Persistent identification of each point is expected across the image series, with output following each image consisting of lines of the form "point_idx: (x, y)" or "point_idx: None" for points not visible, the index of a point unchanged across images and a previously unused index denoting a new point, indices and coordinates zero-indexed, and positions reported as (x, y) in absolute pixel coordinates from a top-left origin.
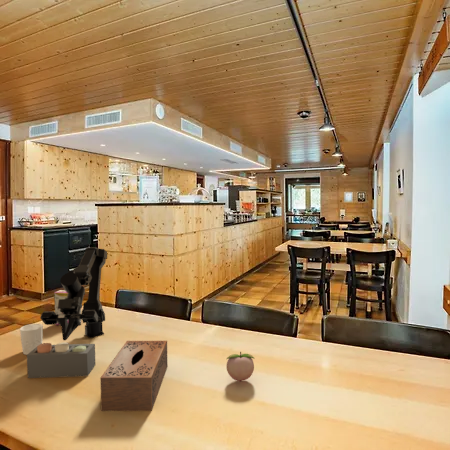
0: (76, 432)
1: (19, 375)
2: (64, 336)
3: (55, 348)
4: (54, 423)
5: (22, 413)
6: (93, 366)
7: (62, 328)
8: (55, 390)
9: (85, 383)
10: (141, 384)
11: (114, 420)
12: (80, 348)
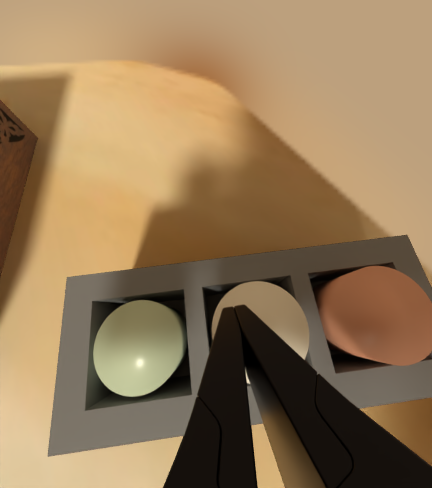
0: (74, 85)
1: None
2: (238, 321)
3: (282, 291)
4: (128, 100)
5: (217, 120)
6: None
7: (324, 393)
8: (193, 205)
9: (116, 246)
10: None
11: None
12: (129, 342)
